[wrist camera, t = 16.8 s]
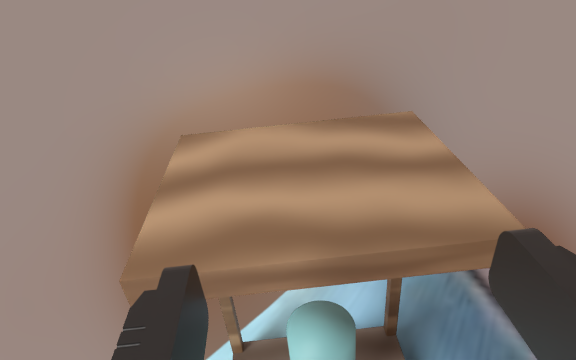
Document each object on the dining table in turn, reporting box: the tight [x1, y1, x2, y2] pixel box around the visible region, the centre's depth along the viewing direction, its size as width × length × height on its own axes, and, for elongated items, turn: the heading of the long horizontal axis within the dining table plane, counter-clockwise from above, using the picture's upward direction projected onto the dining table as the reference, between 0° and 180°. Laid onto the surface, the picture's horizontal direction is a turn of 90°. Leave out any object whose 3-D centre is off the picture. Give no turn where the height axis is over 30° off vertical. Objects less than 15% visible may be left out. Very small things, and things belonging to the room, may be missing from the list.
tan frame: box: [119, 111, 526, 360], centre depth 27 cm, size 16×17×27 cm
